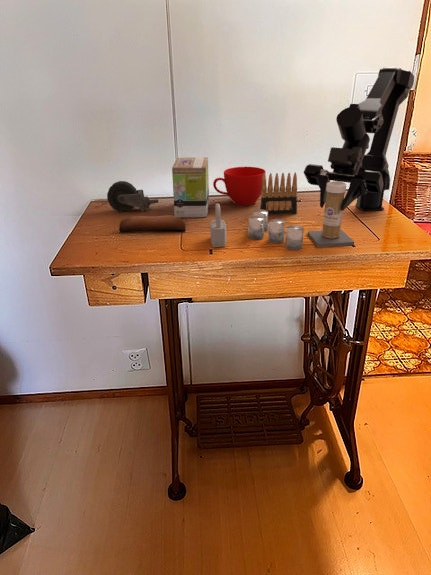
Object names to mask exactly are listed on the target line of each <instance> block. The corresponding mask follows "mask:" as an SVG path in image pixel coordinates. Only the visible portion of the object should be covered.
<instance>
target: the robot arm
mask: <svg viewBox="0 0 431 575" xmlns="http://www.w3.org/2000/svg"><path fill="white" fill-rule="evenodd" d="M377 76H378V77H377V78H376V80H375V82H374V84H373V86H372V87H371V89H370V91H369V93H368V95H367V96H366V98H365V100H363V101H361V102H359V103H350V104H349V107H346V108H344V109H342V110H341V111H340V112H339V113H337V115H336V118H335V119H336V125H337V127H338V130H339V134H340V137H341V139H342V140H343V141H344V143H343V145H342V147H330V151H329V155H328V159H327V162H328V163H330V165H329V167H330V169H331V170H332V171H328V170H327V169H324V166H323V165H322V164H321V165H320V164H312V163H309V164H307V165H306V166H305V168H304V170H303V174H304V177H305V178H306V181H307V183H308V184H310V185H311V186H312V185H313V186H318V188H319V191H320V192H319V194H320V195H319V207H320V208H322V209H323V208H324V207H325V203H326V194H327V192H326V187H327V183H328V182H331V181H338V182H343V183H348V184H349V186H348V189H347V192H346V193H345V195H344V200H343V202H342V205H341V211H345V210H346V209H347V208H348V207H349V206H350V205H351V204H352V203H353V202H354V201H356V203H355V206H356V207H357V208H359V209H360V210H361V211H364V212H371V211H383V210H384V211H385V207H383V202H384V201H383V200H384V197H385V196H384V194H385V191H389V190H390V187H391V176H390V171H389V163H388V160H387V157H386V156H387V152H388V148H389V145H390V140H391V137H392V134H393V130H394V126H395V122H396V118H397V115H398V111H399V107H400V105H401V104H403V102H404V101H406V99H407V98H408V96H409V94H410V90H411V89H413V87H414V83H415V75H414V74H413V73H412V72H411V70H404V69H403V68H401V67H398V66H391V67H390V66H389V67H388V66H385V67H382V68H380V69H379V71H378V74H377ZM369 134H373V137H372V140H371V138H370V136H369ZM370 141H372V142H371V144H370ZM369 144H370V145H369ZM369 146H370V148H369ZM368 149H369V151H368V152H367V150H368ZM366 152H367V153H366Z"/></svg>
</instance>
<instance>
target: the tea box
mask: <svg viewBox="0 0 431 575" xmlns="http://www.w3.org/2000/svg"><path fill="white" fill-rule="evenodd" d="M171 169H172V170H171V171H172V174H171V175H172V191H173V214H174V215H173V216H176V217H180V218H206V217H207V215H208V211H209V204H210V186H209V158H208V157H206V156H205V157H177V158H176V160H175V161H174V164H173V166H171Z"/></svg>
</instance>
